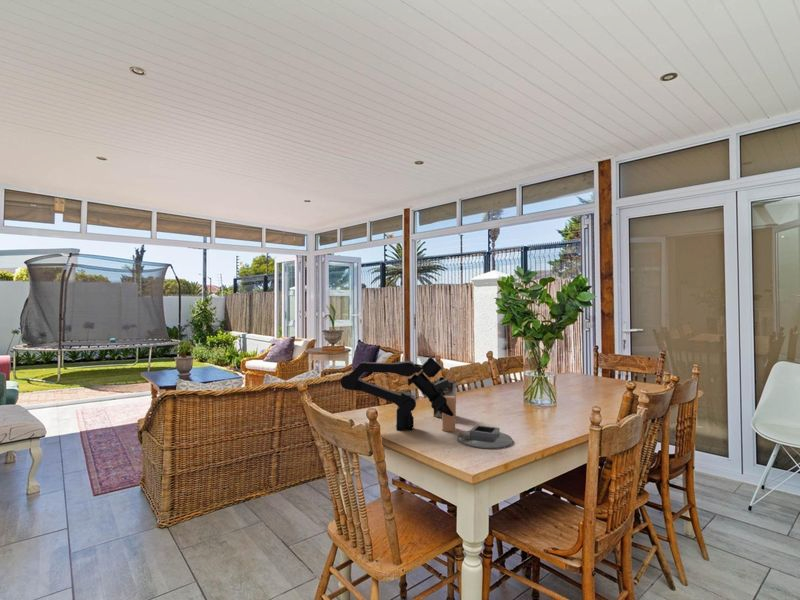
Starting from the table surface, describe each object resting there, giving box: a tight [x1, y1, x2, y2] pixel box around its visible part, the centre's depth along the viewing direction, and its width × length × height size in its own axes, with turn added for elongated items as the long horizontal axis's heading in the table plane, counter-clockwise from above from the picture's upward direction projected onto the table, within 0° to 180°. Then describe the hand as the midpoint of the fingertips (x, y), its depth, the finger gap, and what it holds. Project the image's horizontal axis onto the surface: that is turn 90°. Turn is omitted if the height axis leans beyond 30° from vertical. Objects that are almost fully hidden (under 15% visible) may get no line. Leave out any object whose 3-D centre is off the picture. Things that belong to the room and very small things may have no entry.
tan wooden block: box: [441, 396, 456, 432], centre depth 176 cm, size 5×5×13 cm
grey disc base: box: [457, 424, 513, 450], centre depth 162 cm, size 20×20×4 cm
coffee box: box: [433, 379, 457, 418], centre depth 197 cm, size 9×6×16 cm
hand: (452, 412), depth 176 cm, fingers open, 8 cm apart
